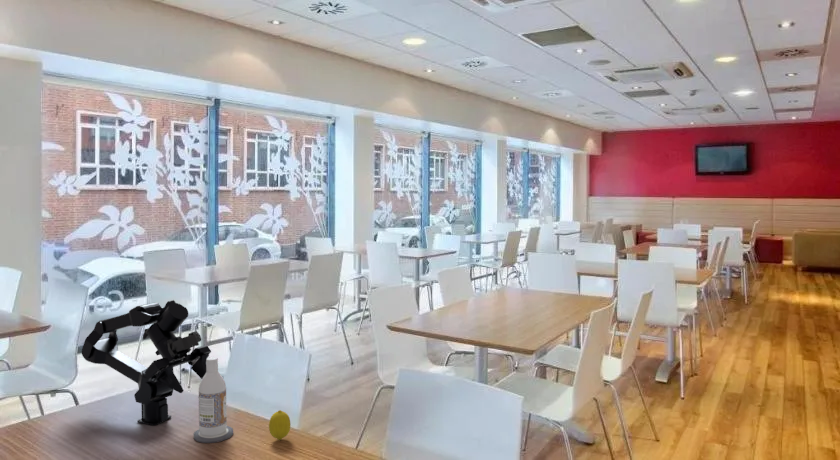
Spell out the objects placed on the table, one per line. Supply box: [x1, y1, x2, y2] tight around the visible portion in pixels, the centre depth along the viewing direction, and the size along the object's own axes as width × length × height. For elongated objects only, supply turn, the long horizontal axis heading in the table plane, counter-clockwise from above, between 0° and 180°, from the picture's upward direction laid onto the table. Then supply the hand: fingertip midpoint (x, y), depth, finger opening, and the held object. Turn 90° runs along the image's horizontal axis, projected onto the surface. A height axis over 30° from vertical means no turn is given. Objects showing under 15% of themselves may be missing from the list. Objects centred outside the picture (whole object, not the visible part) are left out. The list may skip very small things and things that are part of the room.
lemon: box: [268, 409, 291, 441], centre depth 159 cm, size 6×6×8 cm
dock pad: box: [193, 425, 234, 444], centre depth 161 cm, size 10×10×1 cm
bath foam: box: [198, 356, 228, 436], centre depth 160 cm, size 7×7×20 cm
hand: (195, 387), depth 163 cm, fingers open, 9 cm apart
